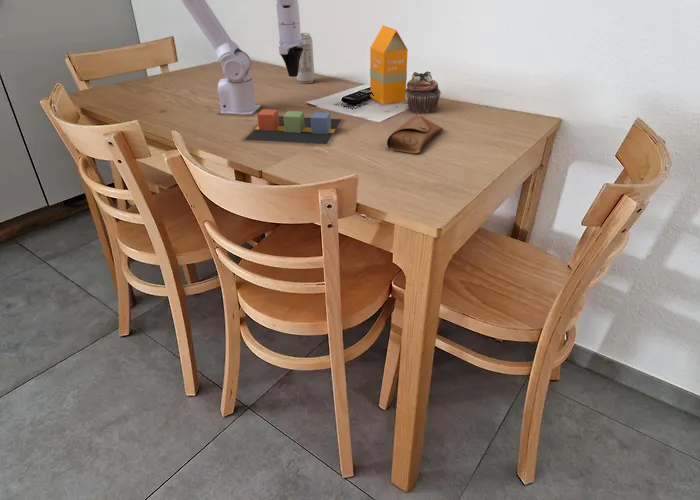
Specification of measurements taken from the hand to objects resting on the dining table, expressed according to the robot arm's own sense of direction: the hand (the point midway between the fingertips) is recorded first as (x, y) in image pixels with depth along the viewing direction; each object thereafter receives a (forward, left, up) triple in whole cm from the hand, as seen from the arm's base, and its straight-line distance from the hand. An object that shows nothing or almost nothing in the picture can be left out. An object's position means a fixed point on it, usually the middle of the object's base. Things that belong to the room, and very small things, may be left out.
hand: (293, 76), depth 137 cm
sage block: (+5, -17, -9) cm, 20 cm away
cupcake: (+36, +5, -10) cm, 38 cm away
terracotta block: (-2, -17, -9) cm, 19 cm away
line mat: (+4, -17, -9) cm, 20 cm away
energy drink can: (-5, +29, -10) cm, 31 cm away
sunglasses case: (+36, -19, -10) cm, 42 cm away
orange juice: (+25, +13, -10) cm, 30 cm away
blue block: (+12, -17, -9) cm, 23 cm away
